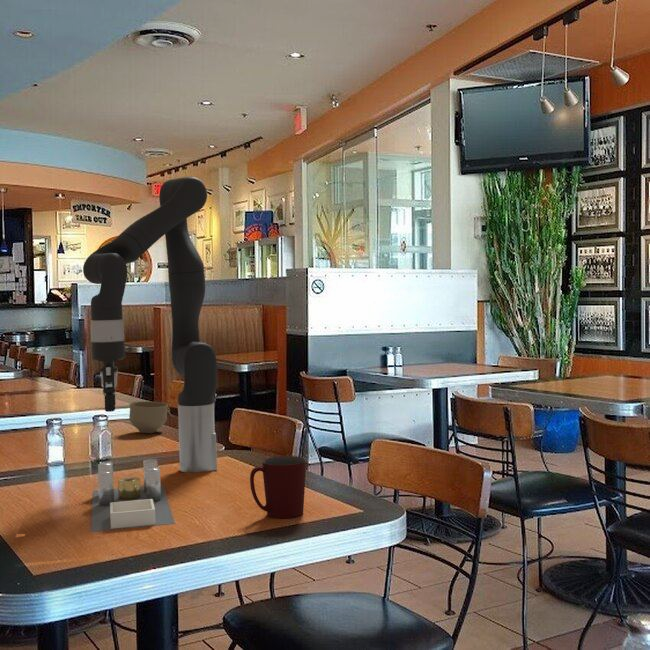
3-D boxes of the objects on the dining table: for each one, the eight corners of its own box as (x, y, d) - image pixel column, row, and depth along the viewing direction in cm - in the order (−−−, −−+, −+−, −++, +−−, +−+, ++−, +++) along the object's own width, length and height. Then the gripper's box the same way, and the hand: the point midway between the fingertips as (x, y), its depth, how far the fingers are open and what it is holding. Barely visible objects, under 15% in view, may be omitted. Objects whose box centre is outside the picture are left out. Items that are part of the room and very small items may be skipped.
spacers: (157, 488, 188) (157, 458, 188) (161, 501, 177) (160, 469, 176) (99, 493, 185) (98, 463, 185) (98, 506, 173) (97, 474, 173)
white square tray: (152, 513, 167) (152, 498, 167) (155, 524, 159) (155, 509, 159) (110, 517, 165) (110, 502, 165) (110, 528, 157) (110, 513, 157)
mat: (163, 486, 192) (163, 484, 192) (175, 526, 159) (175, 523, 159) (93, 492, 188) (93, 490, 188) (90, 534, 155) (90, 531, 155)
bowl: (164, 435, 262) (163, 405, 262) (125, 436, 262) (124, 405, 262) (172, 429, 275) (171, 399, 274) (135, 429, 275) (134, 400, 274)
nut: (140, 493, 184) (139, 476, 183) (141, 499, 179) (140, 481, 179) (118, 495, 182) (117, 478, 182) (118, 500, 178) (118, 482, 178)
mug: (261, 524, 159) (260, 469, 158) (242, 514, 166) (241, 461, 166) (314, 515, 165) (313, 461, 164) (294, 505, 172) (292, 454, 172)
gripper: (124, 340, 182) (127, 412, 182) (124, 337, 195) (126, 403, 196) (89, 341, 180) (92, 414, 181) (92, 338, 194) (94, 405, 194)
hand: (110, 408), depth 188 cm, fingers open, 8 cm apart
